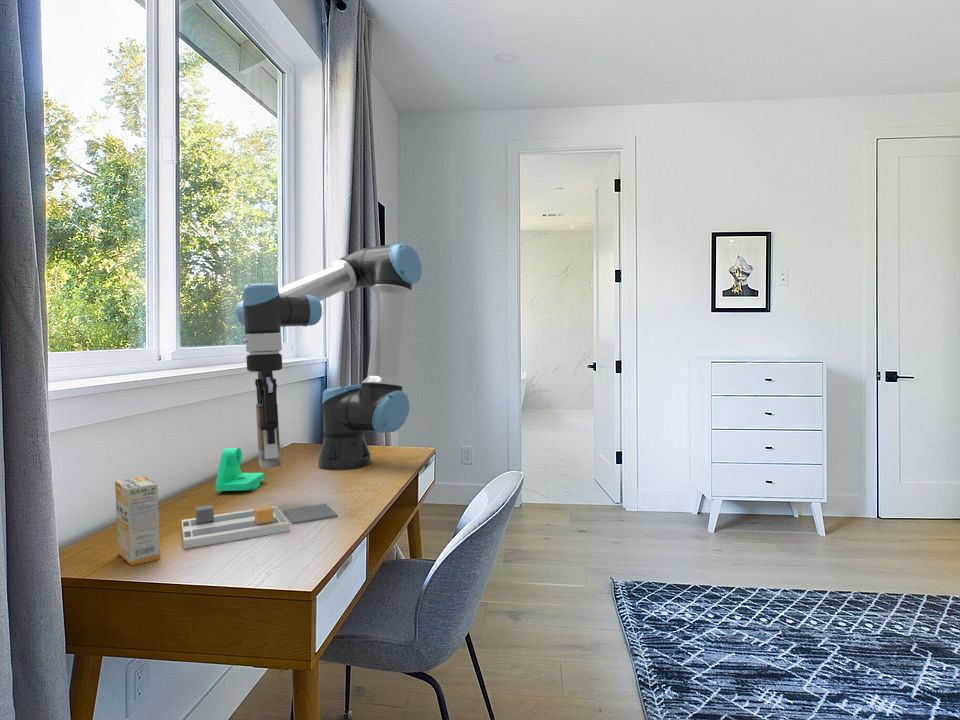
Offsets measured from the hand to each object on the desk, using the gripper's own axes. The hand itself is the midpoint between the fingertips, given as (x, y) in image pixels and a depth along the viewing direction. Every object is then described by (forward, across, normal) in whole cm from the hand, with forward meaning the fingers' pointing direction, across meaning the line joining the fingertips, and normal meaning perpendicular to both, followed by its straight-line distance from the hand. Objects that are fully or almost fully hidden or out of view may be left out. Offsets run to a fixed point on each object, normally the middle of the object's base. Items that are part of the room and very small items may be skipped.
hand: (269, 455), depth 133 cm
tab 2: (+9, +20, -5) cm, 22 cm away
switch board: (+10, +16, -10) cm, 22 cm away
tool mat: (+11, +14, +5) cm, 19 cm away
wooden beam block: (+2, 0, 0) cm, 2 cm away
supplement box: (+10, +23, -26) cm, 36 cm away
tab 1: (+9, +13, -15) cm, 21 cm away
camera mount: (+11, -18, -4) cm, 22 cm away
